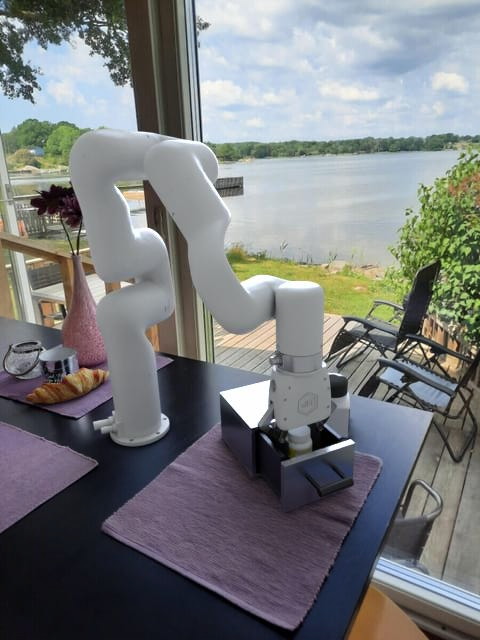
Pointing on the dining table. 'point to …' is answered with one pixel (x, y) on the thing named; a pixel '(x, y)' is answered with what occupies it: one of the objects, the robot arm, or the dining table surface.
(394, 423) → the dining table surface
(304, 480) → the drawer
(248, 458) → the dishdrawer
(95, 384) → the croissant
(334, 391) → the medicine bottle
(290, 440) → the supplement bottle
